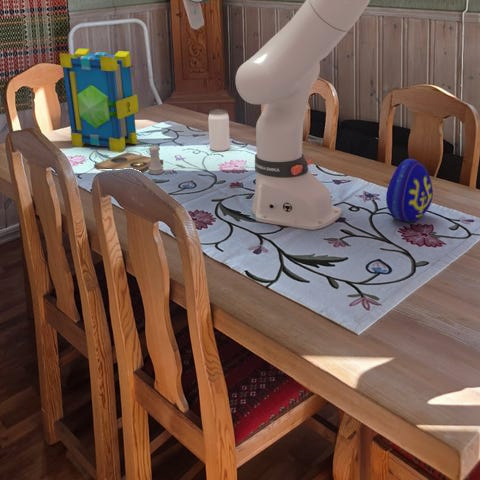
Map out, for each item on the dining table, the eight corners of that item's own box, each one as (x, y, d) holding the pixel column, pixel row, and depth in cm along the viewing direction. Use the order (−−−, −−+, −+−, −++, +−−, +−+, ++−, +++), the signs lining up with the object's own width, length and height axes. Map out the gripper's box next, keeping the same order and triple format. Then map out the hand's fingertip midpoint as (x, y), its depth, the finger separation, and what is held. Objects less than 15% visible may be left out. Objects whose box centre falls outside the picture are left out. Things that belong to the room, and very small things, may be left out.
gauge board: (163, 163, 207) (162, 159, 207) (130, 177, 197) (130, 172, 197) (127, 155, 215) (127, 152, 215) (94, 168, 205) (93, 164, 205)
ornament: (405, 231, 158) (410, 169, 152) (376, 219, 165) (379, 159, 158) (436, 219, 164) (442, 159, 157) (407, 208, 170) (411, 149, 164)
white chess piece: (161, 175, 198) (159, 148, 195) (146, 174, 199) (144, 148, 195) (165, 170, 202) (163, 144, 198) (151, 169, 203) (149, 143, 199)
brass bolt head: (145, 163, 204) (145, 162, 204) (138, 166, 202) (138, 165, 201) (138, 162, 205) (138, 161, 205) (131, 164, 203) (131, 163, 203)
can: (233, 147, 220) (232, 110, 215) (222, 152, 216) (221, 115, 211) (217, 144, 224) (215, 108, 219) (205, 150, 219) (203, 113, 214)
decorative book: (119, 154, 217) (109, 58, 204) (63, 146, 227) (50, 53, 214) (145, 142, 228) (137, 50, 216) (90, 135, 238) (80, 46, 226)
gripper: (205, 0, 170) (212, 39, 182) (188, -55, 179) (196, -14, 191) (181, 6, 170) (189, 45, 182) (165, -49, 179) (174, -8, 191)
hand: (192, 14), depth 187 cm, fingers open, 8 cm apart
